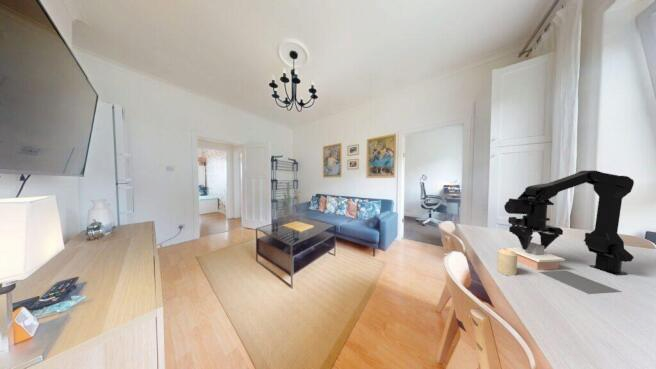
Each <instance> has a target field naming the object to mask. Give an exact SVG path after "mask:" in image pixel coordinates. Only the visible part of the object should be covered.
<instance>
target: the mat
mask: <svg viewBox="0 0 656 369" xmlns="http://www.w3.org/2000/svg"><path fill="white" fill-rule="evenodd" d="M538 273H540V274H541V275H544V276H545V277H548V278H551V279H553V280H555V281H558V282H560V283H562V284H565V285H566V286H569V287H572V288H574V289H577V290H578V291H581V292H584V293H585V294H588V295H596V294H598V295H599V294H612V293H622V292H623V291H622V290H619V289H616V288H613V287H611V286H608V285H606V284H603V283H601V282H598V281H595V280H594V279H593V280H592V279H590V278H587V277H584V276H583V275H582V276H581V275H579V274H577V273H574V272H571V271H570V270H550V271H538Z"/></svg>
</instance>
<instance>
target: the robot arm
mask: <svg viewBox="0 0 656 369" xmlns="http://www.w3.org/2000/svg"><path fill="white" fill-rule="evenodd" d="M634 182H635V180H634V179H633V178H631V177H629V176H627V175H618V174H611V173H605V172H602V171H599V170H598V171H597V170H594V169H593V170H581V171H578V172H576V173H573V174H570V175H568V176H565V177H562V178H560V179H559V178H558V179H557V180H553V181H550V182H547V183H539V184H533V185H528V186H526V187H525V190H523V192H522V193H521V194H520V195H519V196H518V197H517V198H508V200H507V201H506V202H505V204H504V208H503V209H504V210H505V212H506V213H507V214H509V215H510V214H511V215H512V214H513V215H523V216H522V218H518V217H516V216H509V217H508V220H507V221H508V223H509V225H510V226H509V229H508V231H509V233H511V234H512V235H514V236H516V237H517V238H518V242H519V243H520V247H522V248H523V249H524V250H527V248H528V246H529V244H530V242H532V240H533V238H534V236H533V234H534V233H538V235H539V236H540V245H543V246H544V250H546V249H547V248H548V247H549V246H550V245H551V244H552V243H553V242H554V241H555V240H557V238H559V237H561V236H563V235H564V234H563V233H564V231H563V229H562V228H560V227H559V226H558V227H557V226H553V225H549V224H547V221H548V222H549V221H550V220H551V218H549V217H547V215H548V206H554V205H555V203H554V202H552V201H551V200H550V199H552V198H554V197H556V196H557V195H558V193H560V192H562V191H565V190H568V189H569V190H570V189H572V188H574V187H577V186H580V185H583V184H589V185H592V186H593V191H594V192H595V193H596V194H597V196H598V202H597V203H598V204H597V210H596V219H595V226H594V229H593V230H592V231H591V232H585V233H584V240H583V242H584V243H585V244H584V245H585V246H586V247H587V249H588V251H589V252H590V253H593V254H595V263H594V265H593V264H592V265H591V264H590V265H588V266H589V267H591V268H593V269H596V270H598V271H601V272H606V273H608V274H611V275H614V276H619V275H620V276H621V275H623V276H624V275H628V272H626V271H622V267H623V265H622V264H623V263H628V262H632V261H633V259H634V258H635V257H634V255H633V254H631V253H630V252H629V251H628V250H626V249H625V245H624V244H625V242H624V240H623V239H622V237H620V235H619V234H618V230H619V224H620V217H621V209H622V201H623V199H624V198H625V197H626V196H628V195H629V194H630V193H631V192H632V189H633V187H634V185H635V183H634Z"/></svg>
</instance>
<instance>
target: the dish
mask: <svg viewBox="0 0 656 369" xmlns="http://www.w3.org/2000/svg"><path fill="white" fill-rule="evenodd" d="M516 254H517V253H516ZM517 263H520V264H522V265H525V266H527V267H528V268H529V267H530V268H531V269H533V270H536V271H543V270H546V271H547V270H559V268H560V267H559V266H560V261H553V262H537V261H535V260H532V259H530V258H527V257H524V256H522V255H519V254H517Z"/></svg>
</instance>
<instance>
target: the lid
mask: <svg viewBox="0 0 656 369" xmlns="http://www.w3.org/2000/svg"><path fill="white" fill-rule="evenodd" d="M507 248H508V249H510V250H512V251H513V252H515V253H517V254H519V255H522V256H524V257H527V258H530V259H532V260H535V261H537V262H553V261H559V262H565V261H566V259H565V258H563V257H561V256H558V255H554V254H551V253H548V252H547V251H546V252H545V249H544V246H543V245H541V243H540V244H539V243H537V242H534V241H533V242H532V241H531V242H530V244H529V246H528V248H527V250H524V249H523V248H522V246H519V247H507Z"/></svg>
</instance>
